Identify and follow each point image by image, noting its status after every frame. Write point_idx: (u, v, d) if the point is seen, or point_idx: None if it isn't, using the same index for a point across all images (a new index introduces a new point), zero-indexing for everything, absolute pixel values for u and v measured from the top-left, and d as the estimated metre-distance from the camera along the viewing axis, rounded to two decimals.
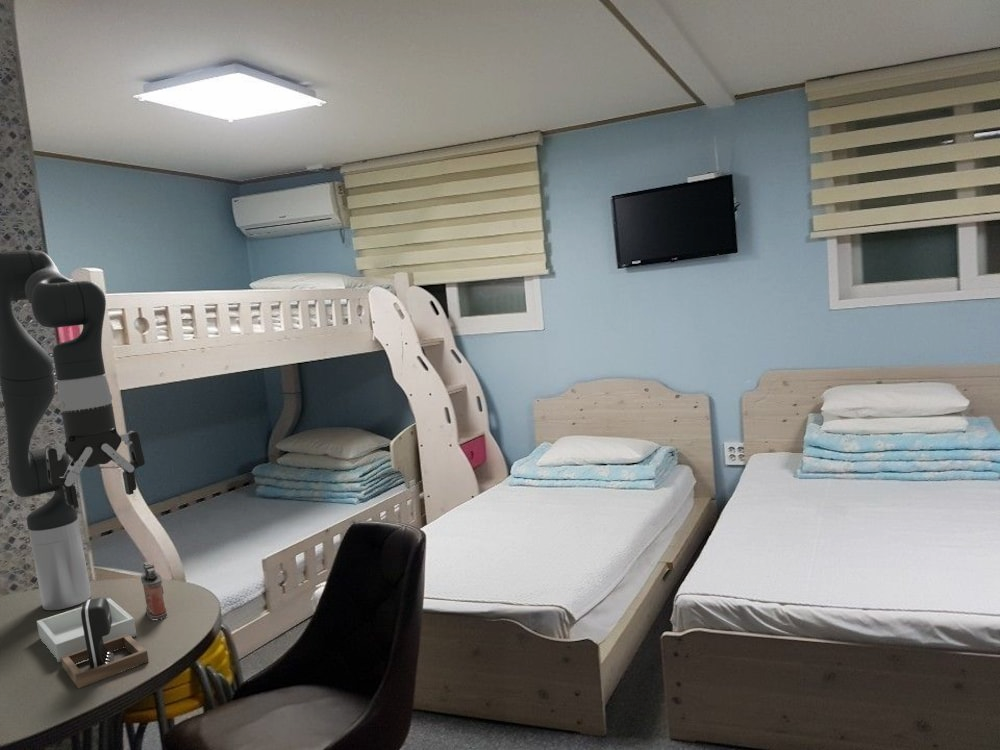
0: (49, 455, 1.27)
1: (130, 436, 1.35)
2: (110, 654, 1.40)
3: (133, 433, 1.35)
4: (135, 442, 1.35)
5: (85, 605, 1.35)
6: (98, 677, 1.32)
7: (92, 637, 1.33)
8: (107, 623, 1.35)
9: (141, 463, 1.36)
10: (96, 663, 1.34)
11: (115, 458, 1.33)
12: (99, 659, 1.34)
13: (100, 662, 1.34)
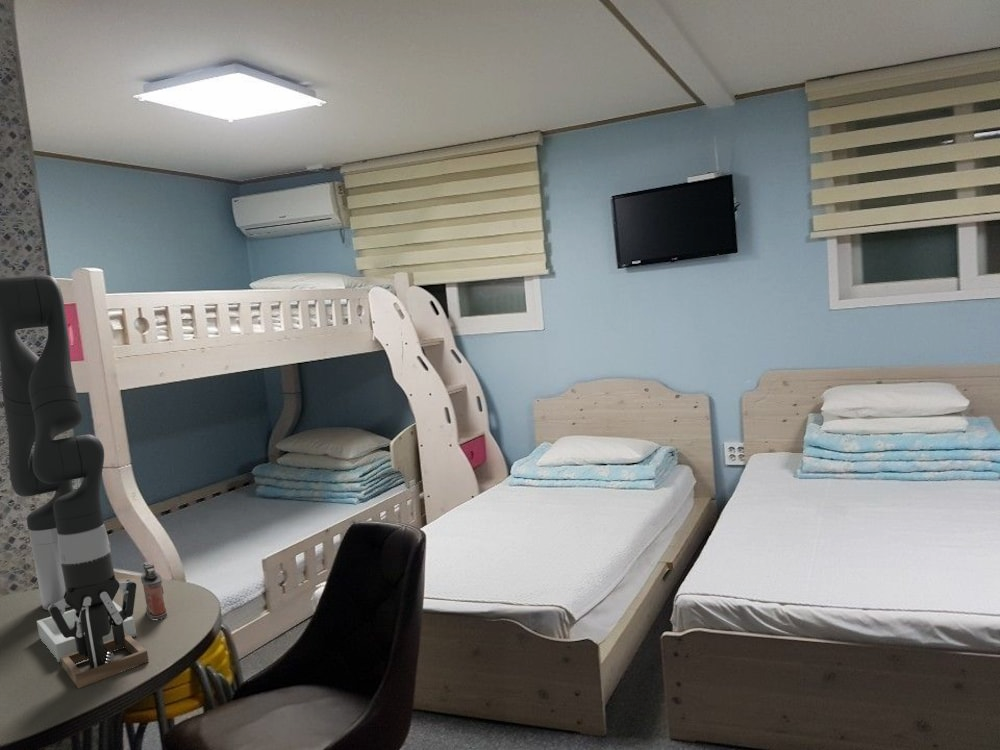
0: (52, 614, 1.31)
1: (128, 585, 1.39)
2: (110, 654, 1.40)
3: (132, 583, 1.39)
4: (131, 592, 1.39)
5: None
6: (98, 677, 1.32)
7: (93, 637, 1.33)
8: (107, 623, 1.35)
9: (129, 614, 1.39)
10: (96, 663, 1.34)
11: (109, 608, 1.36)
12: (99, 659, 1.34)
13: (100, 662, 1.34)
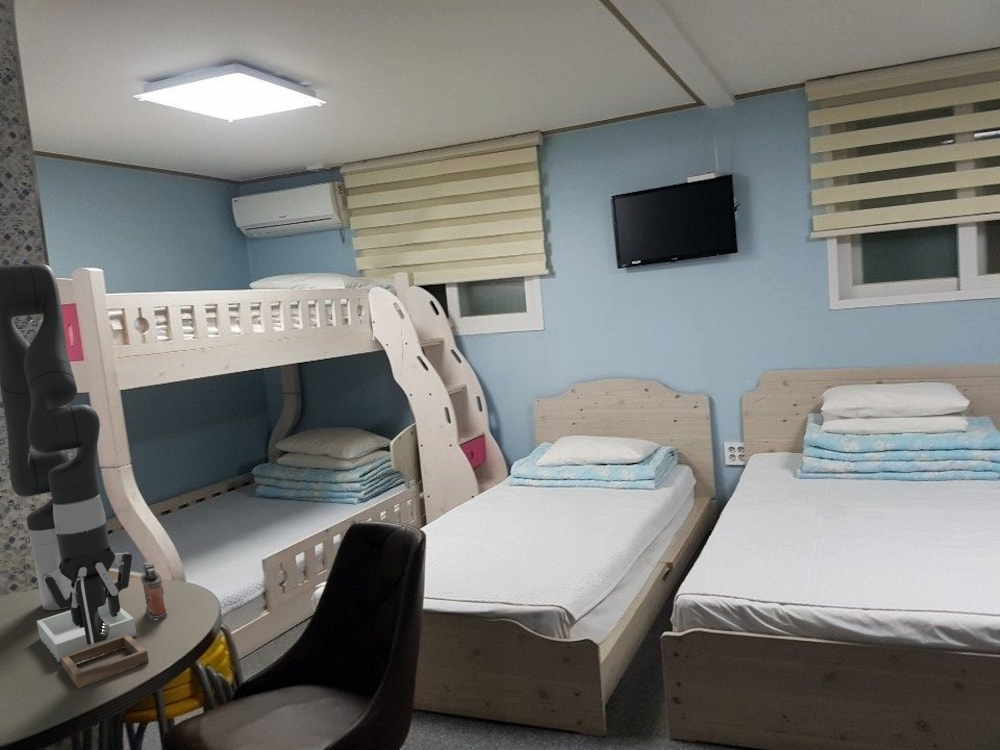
0: (47, 584, 1.31)
1: (123, 556, 1.39)
2: (106, 625, 1.39)
3: (127, 555, 1.38)
4: (126, 564, 1.38)
5: None
6: (98, 677, 1.32)
7: (88, 607, 1.33)
8: (103, 594, 1.34)
9: (125, 586, 1.38)
10: (92, 634, 1.34)
11: (104, 579, 1.36)
12: (95, 630, 1.34)
13: (96, 633, 1.34)
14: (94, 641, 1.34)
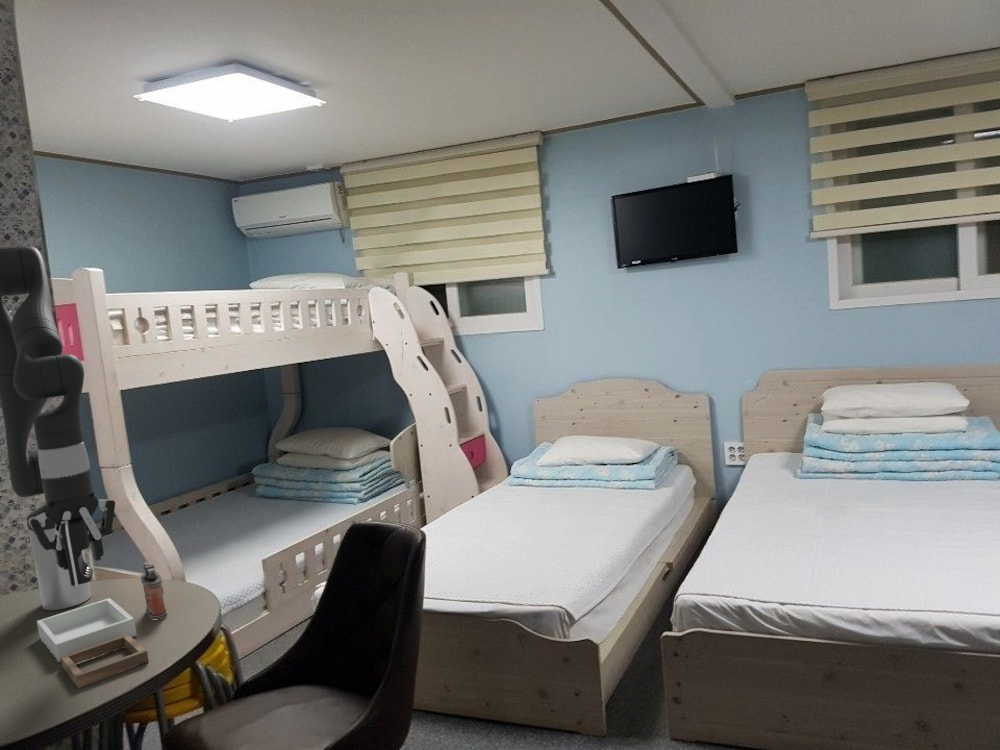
0: (33, 526, 1.35)
1: (107, 503, 1.43)
2: (89, 569, 1.44)
3: (111, 501, 1.43)
4: (109, 510, 1.43)
5: None
6: (98, 677, 1.32)
7: (72, 550, 1.38)
8: (87, 537, 1.39)
9: (108, 531, 1.43)
10: (76, 575, 1.38)
11: (88, 523, 1.40)
12: (79, 571, 1.39)
13: (80, 574, 1.39)
14: (78, 582, 1.39)
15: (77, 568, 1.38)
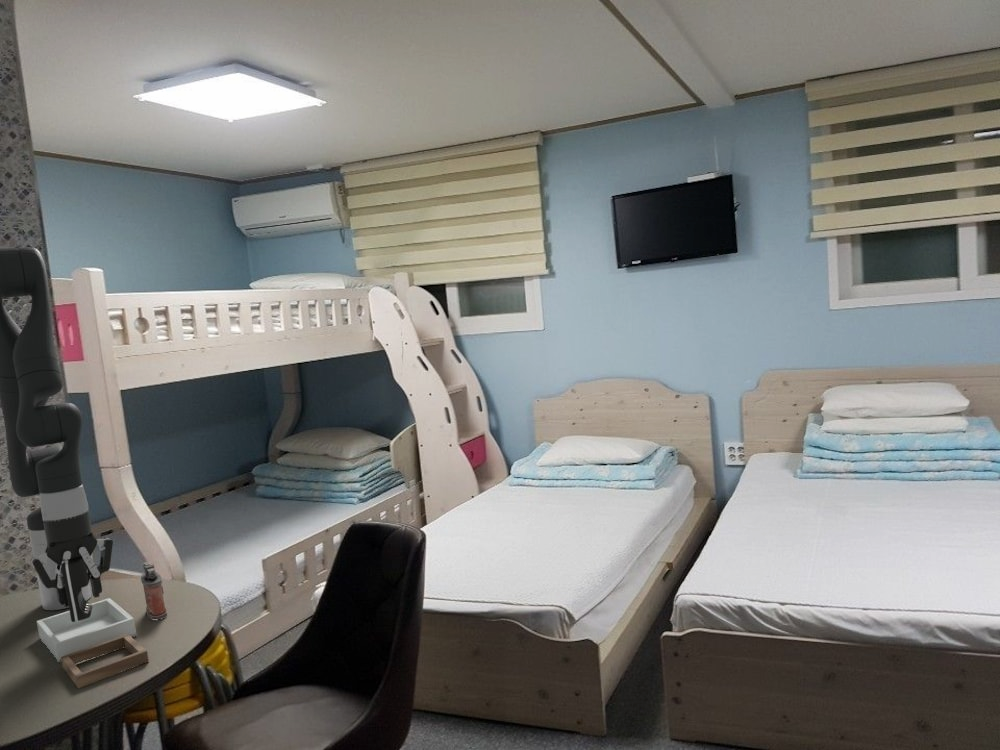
0: (35, 566, 1.43)
1: (105, 542, 1.51)
2: (89, 605, 1.52)
3: (109, 540, 1.51)
4: (107, 549, 1.51)
5: None
6: (98, 677, 1.32)
7: (72, 588, 1.46)
8: (86, 575, 1.47)
9: (106, 569, 1.51)
10: (76, 612, 1.46)
11: (87, 562, 1.48)
12: (78, 608, 1.46)
13: (79, 611, 1.47)
14: (78, 619, 1.46)
15: (77, 605, 1.46)
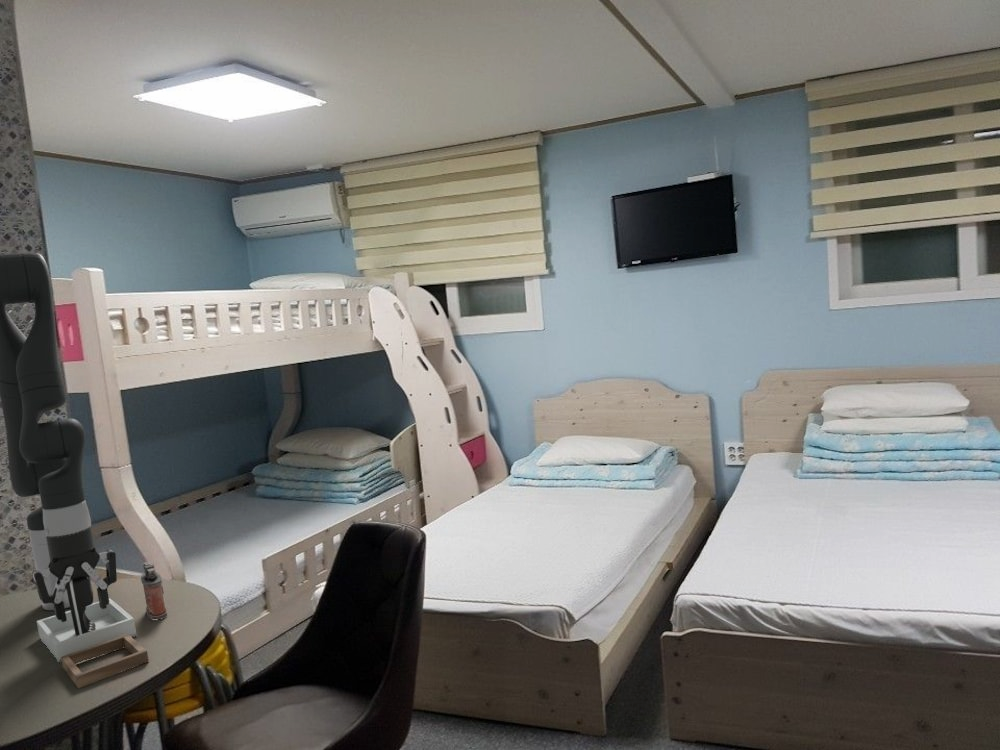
0: (36, 579, 1.44)
1: (107, 555, 1.52)
2: (92, 624, 1.52)
3: (111, 553, 1.52)
4: (111, 561, 1.52)
5: None
6: (98, 677, 1.32)
7: (77, 607, 1.46)
8: (90, 594, 1.48)
9: (113, 580, 1.52)
10: (81, 631, 1.47)
11: (92, 576, 1.49)
12: (84, 627, 1.47)
13: (85, 630, 1.47)
14: None
15: (82, 624, 1.47)
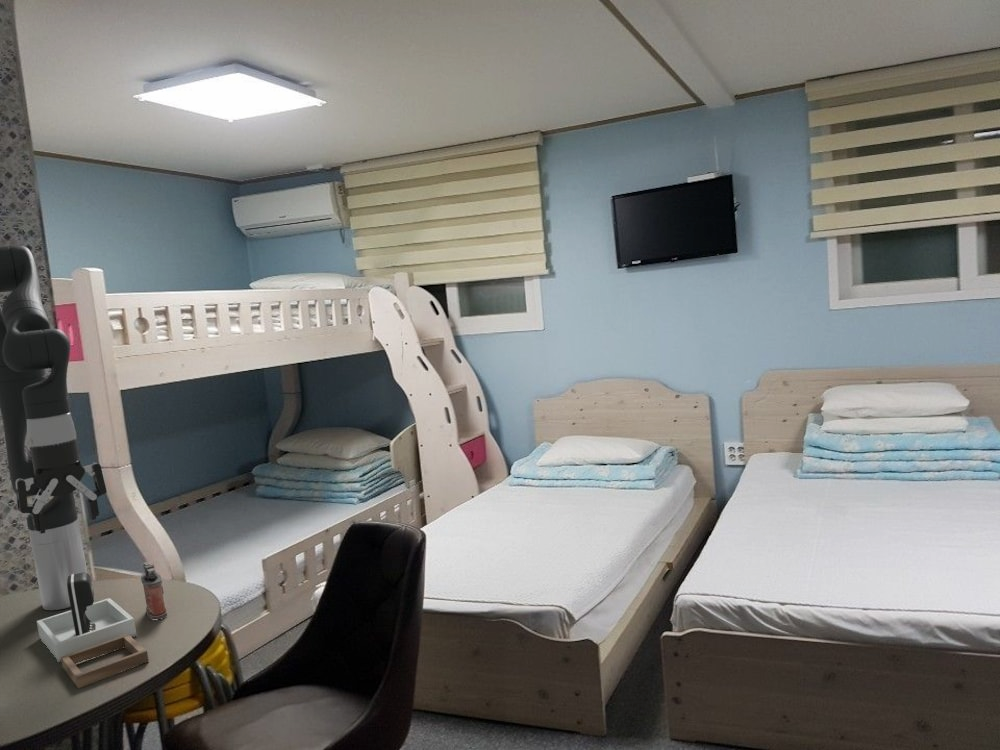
0: (18, 486, 1.41)
1: (93, 467, 1.50)
2: (92, 624, 1.52)
3: (96, 465, 1.49)
4: (97, 473, 1.50)
5: (70, 578, 1.48)
6: (98, 677, 1.32)
7: (78, 607, 1.46)
8: (91, 594, 1.48)
9: (103, 492, 1.50)
10: (81, 631, 1.47)
11: (79, 488, 1.47)
12: (84, 627, 1.47)
13: (85, 630, 1.47)
14: None
15: (82, 624, 1.47)
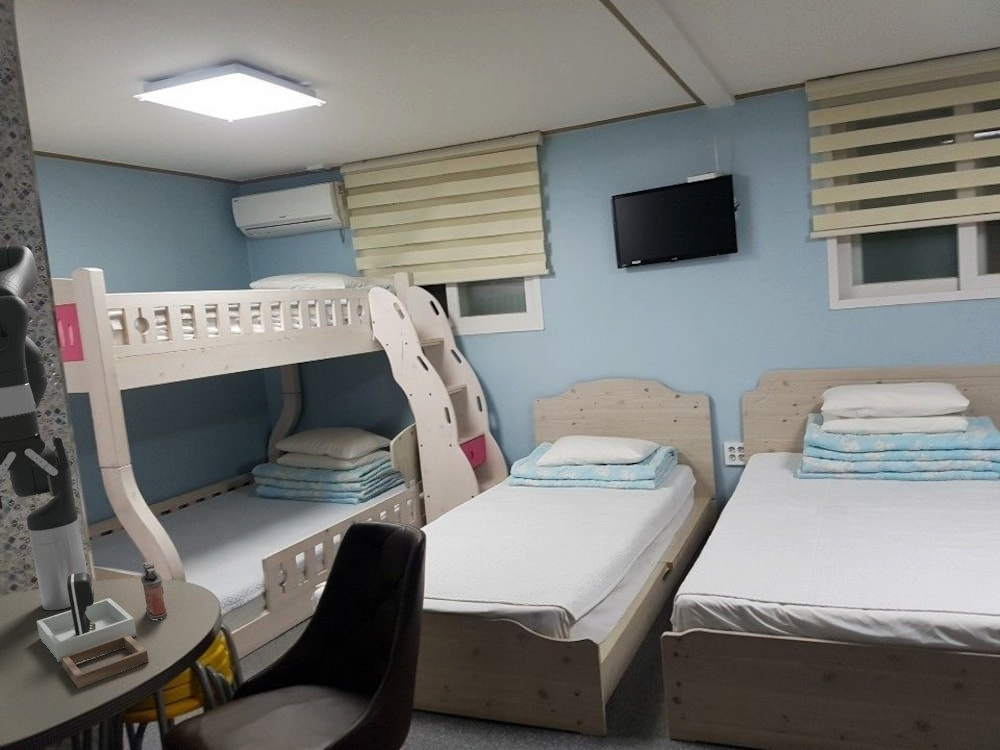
0: None
1: (53, 441, 1.43)
2: (92, 624, 1.52)
3: (56, 439, 1.43)
4: (58, 447, 1.44)
5: (70, 578, 1.48)
6: (98, 677, 1.32)
7: (78, 607, 1.46)
8: (91, 594, 1.48)
9: (64, 467, 1.44)
10: (81, 631, 1.47)
11: (38, 462, 1.41)
12: (84, 627, 1.47)
13: (85, 630, 1.47)
14: None
15: (82, 624, 1.47)
